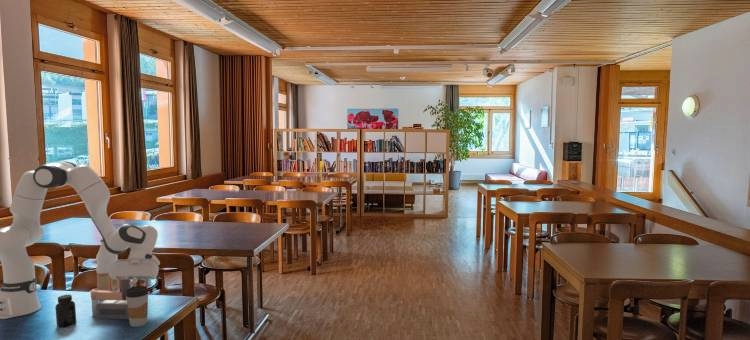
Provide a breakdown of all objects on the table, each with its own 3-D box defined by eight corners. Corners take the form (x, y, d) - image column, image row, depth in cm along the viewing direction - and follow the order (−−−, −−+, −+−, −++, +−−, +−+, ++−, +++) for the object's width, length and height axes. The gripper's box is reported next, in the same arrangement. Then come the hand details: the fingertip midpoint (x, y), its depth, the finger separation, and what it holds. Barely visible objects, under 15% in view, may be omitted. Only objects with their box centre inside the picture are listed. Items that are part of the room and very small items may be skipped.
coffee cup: (140, 329, 187) (138, 292, 185) (122, 327, 188) (120, 291, 187) (154, 320, 195) (152, 286, 194) (136, 319, 196) (135, 284, 195)
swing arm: (89, 298, 199) (88, 279, 198) (94, 296, 202) (93, 277, 201) (126, 301, 196) (125, 281, 195) (131, 298, 199) (130, 279, 198)
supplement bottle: (72, 320, 196) (71, 292, 195) (78, 324, 192) (77, 295, 191) (54, 325, 191) (52, 296, 190) (59, 329, 186) (58, 300, 185)
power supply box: (87, 318, 197) (87, 301, 197) (97, 313, 203) (96, 296, 203) (128, 319, 196) (127, 301, 196) (136, 313, 203) (136, 296, 202)
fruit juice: (98, 299, 220) (96, 241, 218) (96, 294, 228) (93, 238, 226) (121, 295, 226) (118, 239, 224) (118, 290, 233) (115, 235, 231)
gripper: (112, 255, 206) (100, 284, 197) (158, 255, 205) (148, 284, 196) (119, 262, 211) (107, 291, 202) (163, 262, 210) (153, 291, 201)
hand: (127, 287), depth 199 cm, fingers closed, pressing on swing arm
